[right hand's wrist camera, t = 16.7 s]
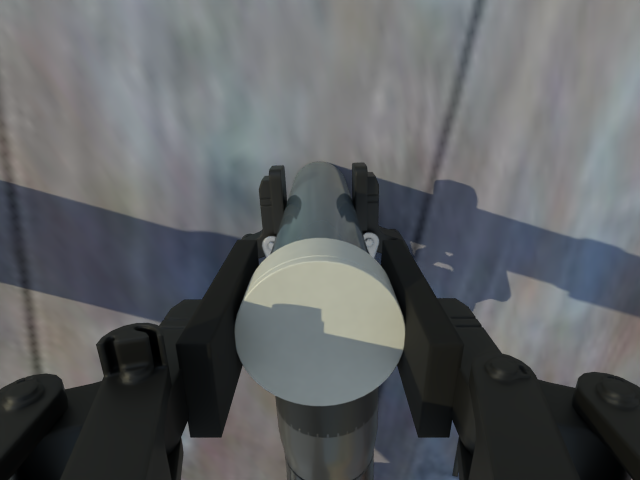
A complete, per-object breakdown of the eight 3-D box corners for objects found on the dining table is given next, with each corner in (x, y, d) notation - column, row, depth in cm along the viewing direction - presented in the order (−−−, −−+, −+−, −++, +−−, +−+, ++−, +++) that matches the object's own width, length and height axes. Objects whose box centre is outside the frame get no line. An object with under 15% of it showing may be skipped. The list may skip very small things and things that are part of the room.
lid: (276, 381, 13) (270, 422, 12) (222, 263, 12) (205, 291, 10) (409, 346, 13) (422, 383, 11) (371, 217, 11) (380, 237, 9)
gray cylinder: (292, 161, 28) (246, 260, 11) (347, 161, 28) (393, 260, 10) (293, 214, 30) (255, 379, 12) (346, 214, 30) (384, 378, 12)
